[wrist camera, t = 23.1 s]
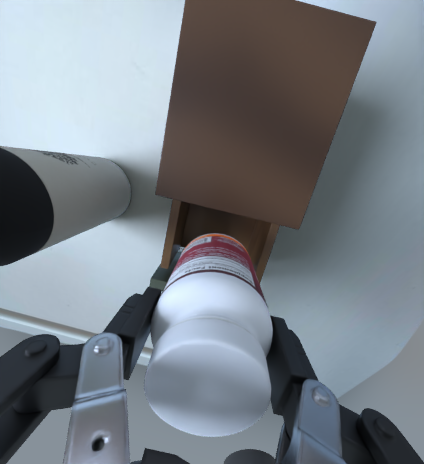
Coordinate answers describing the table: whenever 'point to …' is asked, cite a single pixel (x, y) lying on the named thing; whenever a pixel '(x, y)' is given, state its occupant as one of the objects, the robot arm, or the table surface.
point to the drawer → (207, 222)
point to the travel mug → (54, 198)
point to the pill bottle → (210, 342)
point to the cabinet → (257, 104)
